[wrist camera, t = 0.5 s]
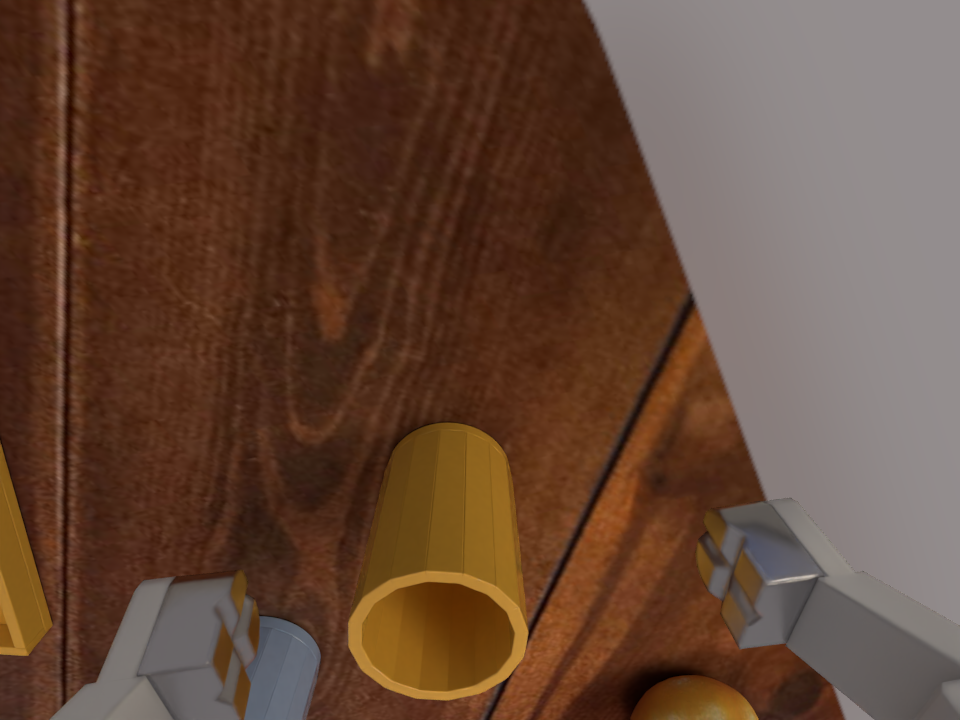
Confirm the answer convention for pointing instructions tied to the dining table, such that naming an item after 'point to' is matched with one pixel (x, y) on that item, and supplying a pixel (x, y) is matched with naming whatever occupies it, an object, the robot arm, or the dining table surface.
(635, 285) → the dining table surface
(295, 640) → the blue cup
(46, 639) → the dining table surface
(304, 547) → the dining table surface
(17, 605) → the mustard tray
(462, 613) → the mustard cup
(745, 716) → the fruit
